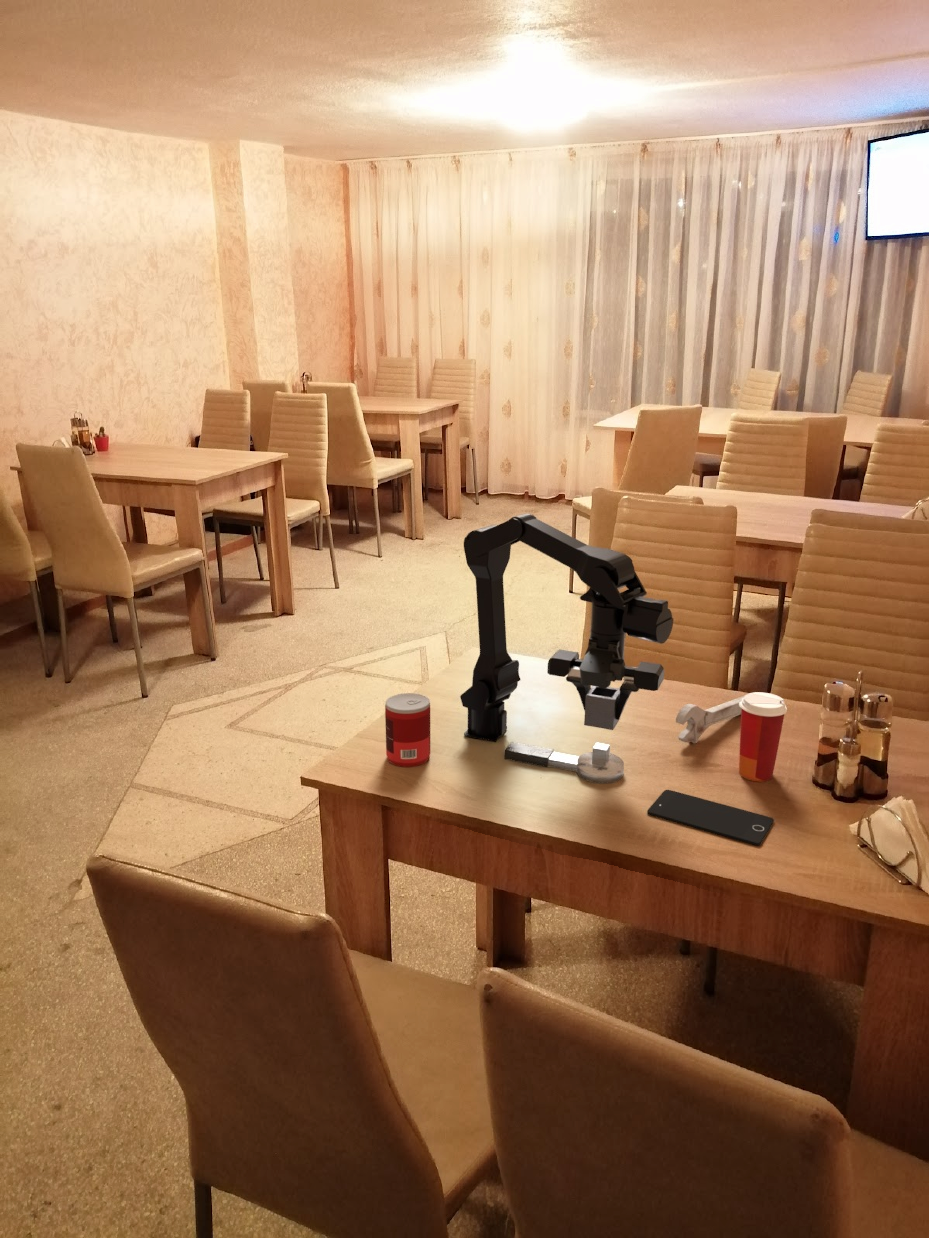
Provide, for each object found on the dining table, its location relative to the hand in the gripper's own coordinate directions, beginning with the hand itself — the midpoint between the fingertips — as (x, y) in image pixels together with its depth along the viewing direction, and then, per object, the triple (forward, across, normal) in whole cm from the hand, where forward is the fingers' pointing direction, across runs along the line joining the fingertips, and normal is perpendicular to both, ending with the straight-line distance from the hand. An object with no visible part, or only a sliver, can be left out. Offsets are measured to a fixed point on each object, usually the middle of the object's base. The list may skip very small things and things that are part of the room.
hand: (602, 716), depth 161 cm
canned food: (+11, -33, -8) cm, 36 cm away
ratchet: (+11, -6, 0) cm, 12 cm away
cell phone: (+11, +20, -8) cm, 24 cm away
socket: (+1, 0, 0) cm, 1 cm away
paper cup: (+11, +25, +10) cm, 29 cm away
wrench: (+11, +16, +27) cm, 34 cm away
